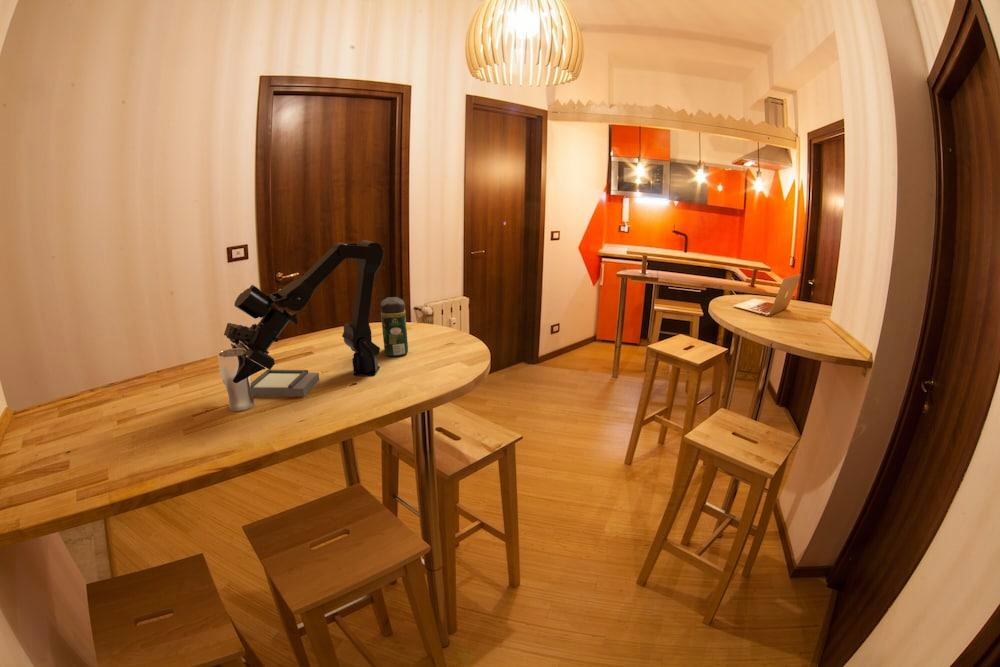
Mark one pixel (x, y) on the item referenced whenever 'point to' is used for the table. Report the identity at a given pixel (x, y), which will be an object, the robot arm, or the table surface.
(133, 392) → the table surface
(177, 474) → the table surface
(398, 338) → the coffee jar
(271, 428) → the table surface
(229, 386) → the beer glass
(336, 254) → the robot arm
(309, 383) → the dock
